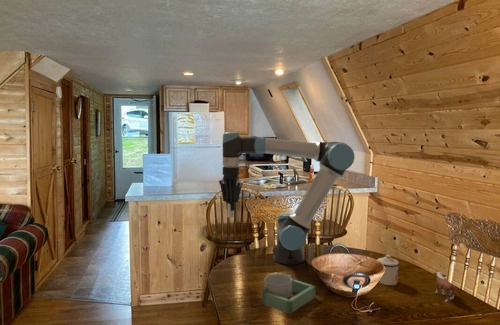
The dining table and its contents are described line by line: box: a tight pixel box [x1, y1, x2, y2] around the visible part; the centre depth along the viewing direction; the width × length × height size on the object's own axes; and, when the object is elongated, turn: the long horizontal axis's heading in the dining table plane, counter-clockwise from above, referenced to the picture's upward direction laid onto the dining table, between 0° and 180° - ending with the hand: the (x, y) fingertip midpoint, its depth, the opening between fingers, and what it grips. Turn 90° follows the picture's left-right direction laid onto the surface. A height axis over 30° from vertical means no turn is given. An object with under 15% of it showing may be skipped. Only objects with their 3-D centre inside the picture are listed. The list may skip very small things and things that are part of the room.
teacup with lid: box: [376, 254, 400, 286], centre depth 168 cm, size 12×9×12 cm
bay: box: [261, 274, 316, 315], centre depth 148 cm, size 18×12×6 cm
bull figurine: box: [433, 271, 456, 303], centre depth 153 cm, size 4×13×8 cm, turn 176°
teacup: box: [263, 271, 293, 299], centre depth 151 cm, size 14×11×8 cm
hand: (230, 217), depth 178 cm, fingers closed
